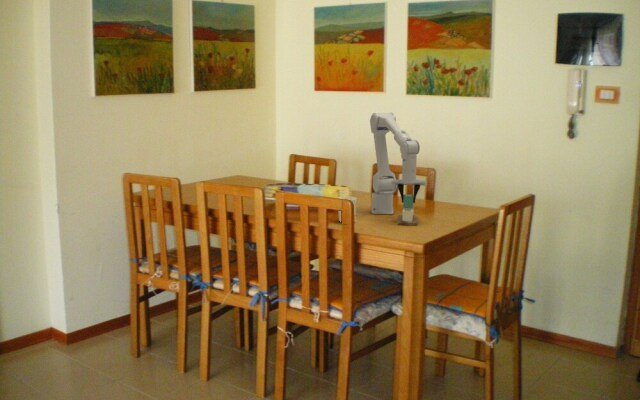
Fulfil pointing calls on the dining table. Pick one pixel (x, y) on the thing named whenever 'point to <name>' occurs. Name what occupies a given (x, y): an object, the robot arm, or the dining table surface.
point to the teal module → (408, 201)
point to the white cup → (353, 203)
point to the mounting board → (412, 223)
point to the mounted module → (407, 215)
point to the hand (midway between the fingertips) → (408, 202)
